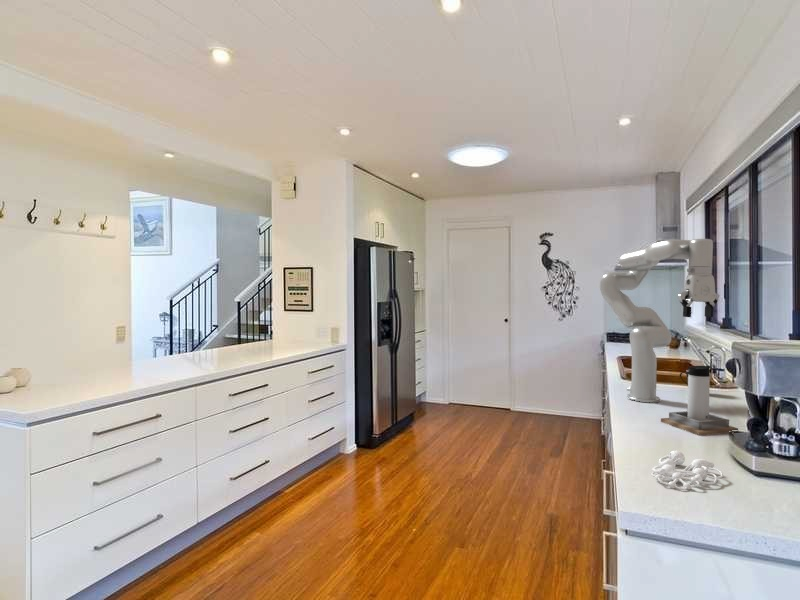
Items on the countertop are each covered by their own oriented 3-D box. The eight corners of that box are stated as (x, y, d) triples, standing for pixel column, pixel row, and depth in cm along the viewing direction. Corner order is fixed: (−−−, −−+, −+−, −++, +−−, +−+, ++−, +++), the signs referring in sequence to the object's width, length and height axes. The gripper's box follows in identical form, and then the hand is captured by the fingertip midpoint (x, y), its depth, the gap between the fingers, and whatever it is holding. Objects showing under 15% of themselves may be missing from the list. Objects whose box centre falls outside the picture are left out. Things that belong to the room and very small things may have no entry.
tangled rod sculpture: (701, 504, 107) (703, 487, 106) (636, 479, 118) (637, 463, 117) (728, 480, 119) (730, 464, 119) (667, 459, 130) (668, 445, 130)
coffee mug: (712, 395, 210) (712, 373, 209) (692, 395, 210) (693, 373, 209) (696, 389, 221) (696, 368, 221) (677, 389, 221) (678, 368, 221)
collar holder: (660, 421, 168) (660, 411, 168) (697, 418, 172) (697, 408, 172) (698, 435, 153) (699, 424, 152) (738, 431, 156) (738, 420, 156)
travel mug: (713, 426, 159) (714, 367, 158) (691, 424, 160) (692, 366, 160) (705, 421, 165) (706, 364, 164) (684, 419, 166) (685, 363, 166)
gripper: (688, 271, 172) (686, 317, 173) (727, 272, 175) (725, 317, 176) (672, 271, 179) (670, 316, 180) (710, 272, 183) (708, 315, 183)
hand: (697, 316), depth 178 cm, fingers open, 9 cm apart
